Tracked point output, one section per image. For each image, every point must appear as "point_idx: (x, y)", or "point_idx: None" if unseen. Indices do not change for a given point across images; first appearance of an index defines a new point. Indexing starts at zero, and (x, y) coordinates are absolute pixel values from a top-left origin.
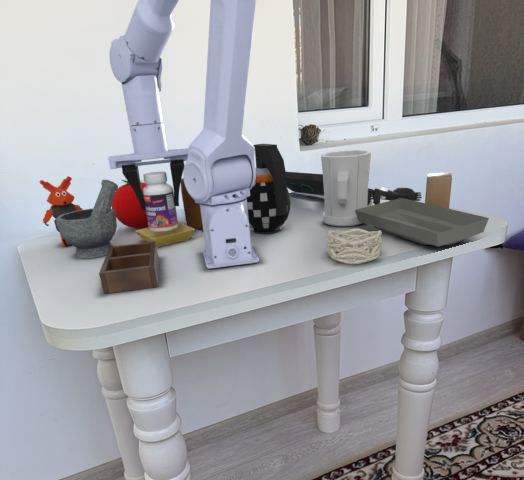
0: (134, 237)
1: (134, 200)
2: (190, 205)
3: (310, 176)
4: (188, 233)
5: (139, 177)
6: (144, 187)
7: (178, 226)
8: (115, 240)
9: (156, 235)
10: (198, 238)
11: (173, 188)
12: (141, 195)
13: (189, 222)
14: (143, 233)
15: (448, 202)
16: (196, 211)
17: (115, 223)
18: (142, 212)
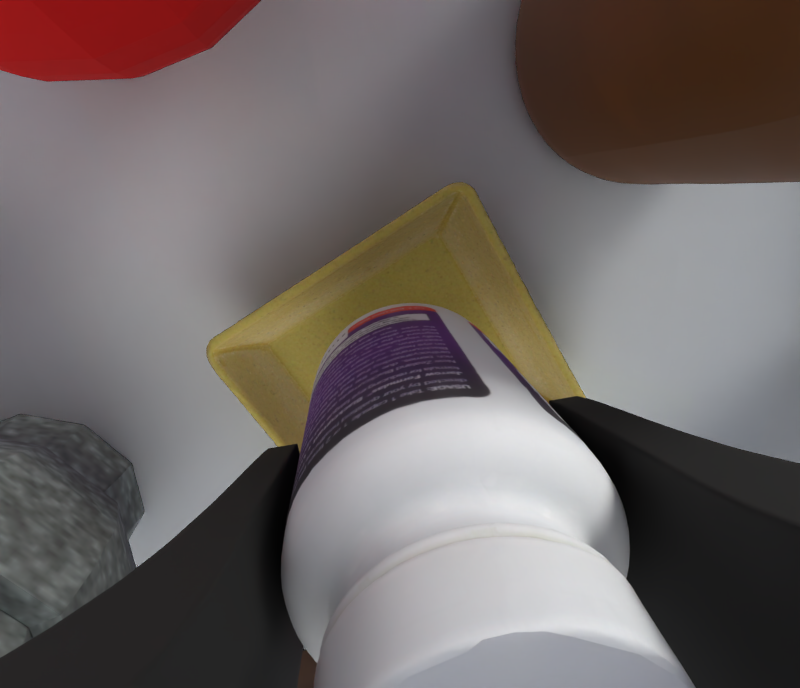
0: (165, 209)
1: (21, 22)
2: (647, 150)
3: None
4: None
5: (204, 670)
6: (309, 618)
7: (481, 250)
8: (47, 248)
9: (336, 303)
10: (575, 363)
11: (633, 522)
12: (298, 656)
13: (552, 135)
14: (259, 331)
15: None
16: (659, 176)
17: (118, 578)
18: (162, 65)
